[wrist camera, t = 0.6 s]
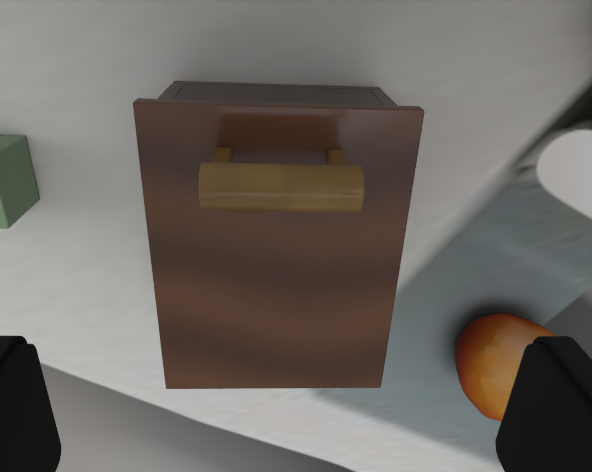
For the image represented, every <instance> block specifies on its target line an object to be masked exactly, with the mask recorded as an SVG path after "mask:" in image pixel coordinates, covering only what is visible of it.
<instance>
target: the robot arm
mask: <svg viewBox="0 0 592 472" xmlns="http://www.w3.org/2000/svg"><path fill="white" fill-rule="evenodd" d="M496 452H497V456H498V458H499V461H500V463H501V465H502V467H503V469H504V471H505V472H592V360H591V359H590V357H589V356H588V355H587V354H586V353H585V351H583V349H582V348H581V347H580V346H579V345H578V343H577V342H576V341H575V340H574V339H572V338H571V337H568V336H539V337H537V338H536V339H534V341H533V343H532V344H528V345H527V346H526V348H525V350H524V353H523V356H522V359H521V362H520V365H519V369H518V372H517V375H516V378H515V381H514V384H513V387H512V391H511V394H510V397H509V400H508V403H507V406H506V409H505V413H504V416H503V419H502V422H501V425H500V428H499V431H498V435H497V438H496ZM60 456H61V443H60V439H59V435H58V431H57V427H56V423H55V420H54V416H53V412H52V408H51V404H50V400H49V396H48V393H47V388H46V385H45V381H44V377H43V373H42V370H41V365H40V361H39V357H38V354H37V350H36V347H35V346H34V345H33V344H27V341H26V339H25V338H24V337H22V336H0V472H55V471H56V469H57V467H58V464H59V461H60Z"/></svg>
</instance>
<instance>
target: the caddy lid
mask: <svg viewBox="0 0 592 472" xmlns="http://www.w3.org/2000/svg"><path fill="white" fill-rule="evenodd" d="M133 109H134V118H135V126H136V135H137V143H138V152H139V161H140V169H141V178H142V186H143V195H144V204H145V212H146V221H147V229H148V238H149V247H150V255H151V264H152V272H153V281H154V290H155V298H156V307H157V315H158V324H159V333H160V341H161V350H162V358H163V367H164V376H165V384H166V389H223V388H380V387H381V382H382V376H383V369H384V363H385V357H386V350H387V344H388V338H389V332H390V325H391V319H392V313H393V306H394V300H395V294H396V287H397V281H398V275H399V268H400V262H401V256H402V250H403V243H404V237H405V231H406V224H407V218H408V212H409V205H410V199H411V193H412V186H413V180H414V174H415V167H416V161H417V155H418V149H419V142H420V136H421V130H422V123H423V117H424V110H423V109H422V108H421V107H419V106H389V105H354V104H318V103H283V102H247V101H212V100H176V99H141V98H138V99H136V100H135V101H134V102H133Z"/></svg>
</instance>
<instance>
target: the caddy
mask: <svg viewBox="0 0 592 472" xmlns="http://www.w3.org/2000/svg"><path fill="white" fill-rule="evenodd" d="M158 99H176V100H212V101H247V102H283V103H318V104H354V105H389V106H398V105H397V104H396V103H395V102H394V101H393V100H391V99H390V98H389V97H388V96H387V95H386V94H385V93H384V92H383V91H382V90H381V89H380V88H379V87H354V86H320V85H287V84H254V83H221V82H188V81H174V82H173V84H171V85H170V86H169V87H168V88H167V89H166V90H165V91H164V92H163V93H162V95H161V96H160V97H159V98H158Z"/></svg>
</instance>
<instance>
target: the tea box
mask: <svg viewBox="0 0 592 472" xmlns="http://www.w3.org/2000/svg"><path fill="white" fill-rule="evenodd" d="M39 199H40V198H39V194H38V190H37V185H36V181H35V176H34V172H33V167H32V163H31V158H30V154H29V149H28V145H27V140H26V137H25V136H15V135H0V228H10V227H11V226H12V225H13V224H14V223H15V222H16V221H17V220H18V219H19V218H20V217H21V216H22V215H24V214H25V213H26V212H27V211H28V210H29V209H30V208H31V207H32V206H33V205H34V204H35V203H36V202H37V201H39Z"/></svg>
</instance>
